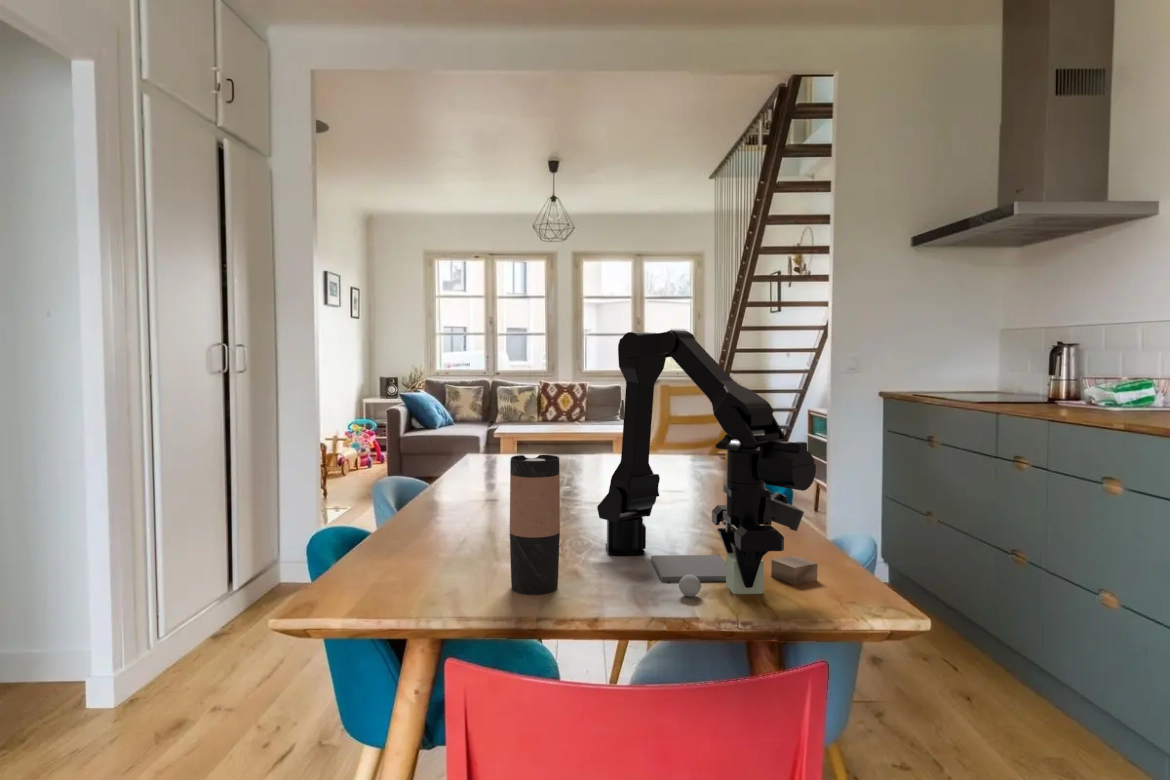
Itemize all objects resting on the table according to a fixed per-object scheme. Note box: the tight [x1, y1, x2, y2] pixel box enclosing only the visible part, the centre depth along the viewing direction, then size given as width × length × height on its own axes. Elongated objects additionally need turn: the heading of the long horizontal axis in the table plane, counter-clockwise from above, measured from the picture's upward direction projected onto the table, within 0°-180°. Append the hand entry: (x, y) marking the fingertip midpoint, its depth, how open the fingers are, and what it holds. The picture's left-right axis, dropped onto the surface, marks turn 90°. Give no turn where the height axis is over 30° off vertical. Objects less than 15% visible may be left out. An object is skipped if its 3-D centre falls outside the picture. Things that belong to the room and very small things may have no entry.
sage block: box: [725, 552, 765, 595], centre depth 109 cm, size 4×4×5 cm
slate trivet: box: [650, 554, 726, 583], centre depth 119 cm, size 12×12×1 cm
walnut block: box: [770, 555, 818, 586], centre depth 115 cm, size 5×5×3 cm
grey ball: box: [678, 575, 702, 598], centre depth 106 cm, size 3×3×3 cm
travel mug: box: [509, 454, 561, 596], centre depth 109 cm, size 8×8×20 cm
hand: (744, 582), depth 109 cm, fingers closed on sage block, 4 cm apart
